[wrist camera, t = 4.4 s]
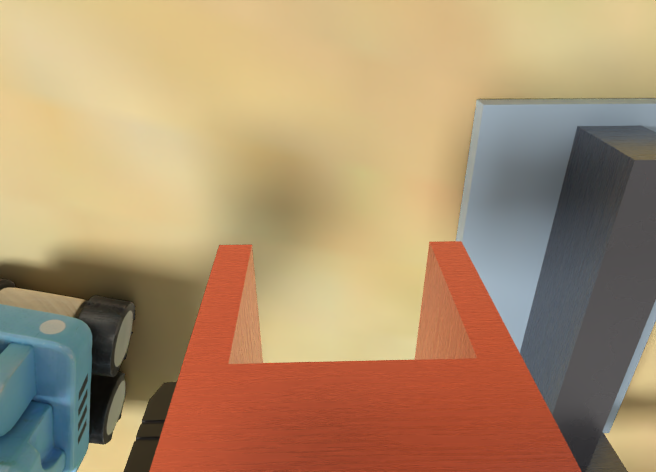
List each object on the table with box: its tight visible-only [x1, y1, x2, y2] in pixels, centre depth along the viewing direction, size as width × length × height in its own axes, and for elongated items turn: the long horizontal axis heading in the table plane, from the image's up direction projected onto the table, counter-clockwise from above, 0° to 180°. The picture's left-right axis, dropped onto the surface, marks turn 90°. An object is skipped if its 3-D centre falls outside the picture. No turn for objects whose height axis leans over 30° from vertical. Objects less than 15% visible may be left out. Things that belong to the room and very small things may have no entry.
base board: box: [456, 98, 656, 433], centre depth 28 cm, size 22×12×1 cm, turn 0°
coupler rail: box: [520, 126, 656, 472], centre depth 24 cm, size 20×7×8 cm, turn 0°
